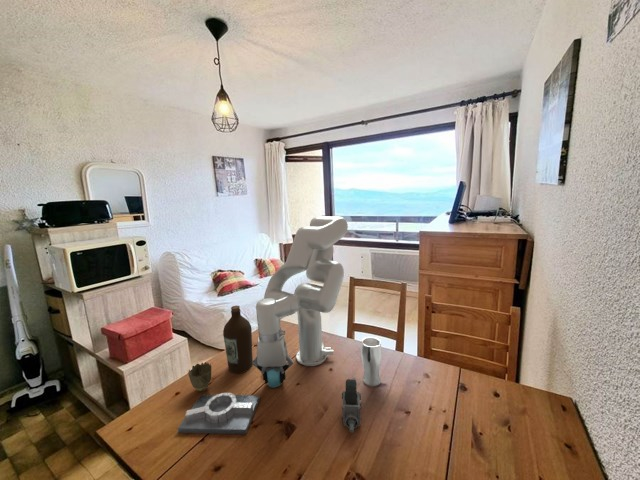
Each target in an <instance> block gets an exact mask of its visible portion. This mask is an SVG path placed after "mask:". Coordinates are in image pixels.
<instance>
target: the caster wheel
mask: <svg viewBox="0 0 640 480" xmlns="http://www.w3.org/2000/svg"><path fill="white" fill-rule="evenodd" d="M341 399H342V406H341V408H342V417H341V418H342V424H343V426H344V427H347V428H348V429H349V433H350V434H353V433H354V432H355V429H357V428H359V427H360V426H361V424H362V423H361V421H362V417H361V409H362V408H361V400H362V397H361V392H360V391H357V380H356V379H351V378H350V379H349V378H348V379H346V380H345V391H344V390H343V391H342V392H341Z"/></svg>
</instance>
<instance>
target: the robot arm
mask: <svg viewBox="0 0 640 480" xmlns="http://www.w3.org/2000/svg"><path fill="white" fill-rule="evenodd" d="M348 227H349V226H348V221H347V219H345V218H344V217H343V216H337V215H336V216H333V215H331V216H327V215H326V216H322V215H319V216H315V217H313V218H312V219H311V220H310V222H309V226H307V225H306V226H301V227H299V228H298V229H297V231H296V233H295V236H294V238H293V241H292V244H291V247H290V250H289V253H288V255H287V258H286V261H285V262H284V263H283V264H282V265H281V266H280V267H279V268H278V269H277V270H276V271H275V272H274V273H273V274H272V276H271V277H270V278H269V281H268V283H267V286H266V288H265V292H264V295H263V296H264V297H263V298H262V299H260V300H259V301H257V302H256V304H255V310H256V311H255V313H256V319H257V321H256V322H257V329H258V330H257V331H258V337H257V342H256V357H255V358H254V359H253V363H252V366H253V367H255V368H257V370H259V371H260V374H261V375H262V379H263V381H264V385H268V380H267V372H266V371H265V368H266V367H275V366H279V369H280V371H281V372H280V382H281V385H283V384H284V381H285V380H286V377H287V375H286V371H287V370H288V369H289V368H290V367H292V366H293V365H294V363H295V362H294V360H293V358H291V357H290V355H289V353H288V347H287V342H286V338H285V335H286V330H283V329H282V327H281V319H282V318H285V317H289V316H292V315H294V314H297V326H298V328H297V330H298V345H299V347H298V348H299V350H298V351H297V353H296V355H295V358H296V359H295V360H296V361H297V363H299V364H300V365H302V366H306V367H315V366H318V365H321V364H323V363H324V362H325V361H326V360H327V356H334V350H333V349H331V346H330V347H326V346H324V343H323V330H322V329H323V328H322V325H323V324H322V315H321V313H323V314H328V313H330V312H331V311H333V309H334V308H335V306H336V303H337V300H338V296H339V294H340V290H341V287H342V284H343V280H344V276H345V275H344V273H345V272H344V271H345V270H344V267H343V265H342V263H341V262H338V261H336V260H332V259H333V255H334V252H335V251H334V244H336V243H337V242H338V241H340V240H341V239H343V238H344V237H345V236H346V234H347V232H348ZM305 271H306V272H305ZM303 272H305V275H306V278H307V279H308V280H310V281H312V282H315V283H320V284H323V285H318V284H313V283H309V282H303V283H300V284H298V285H297V286H296V287H295V289H294V292H293V293H291V292H287V291H284V290H283V287H284V285H285V283H286V282H287V281H289V279H290V278H292V277H293V276H296V275H299V274H301V273H303Z"/></svg>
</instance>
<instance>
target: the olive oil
mask: <svg viewBox="0 0 640 480" xmlns="http://www.w3.org/2000/svg"><path fill="white" fill-rule="evenodd" d="M230 312H231V313H230V314H231V315H230V316H231V317H230V318H229V320H228V321H227V322H226V323H225V325H224V327H223V331H222V336H223V342H224V347H225V348H224V349H225V354H226V360H227V366H228V371H229V372H230V373H232V374H242V373H246V372H247V371H249V370H250V369H251V368H252V367H253V365H252V363H253V361H254V359H253V342H252V341H253V335H252V333H253V332H252V325H251V322H250V321H249V320H248V319H247V318H245V317H244V316H242V315H241V308H240V305H232V306H231V307H230Z"/></svg>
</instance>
